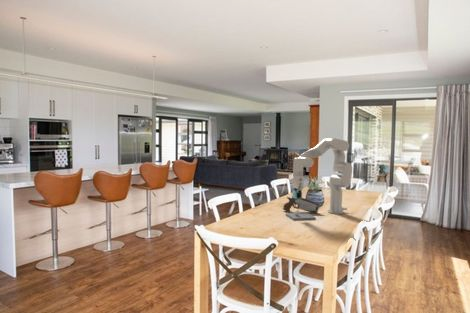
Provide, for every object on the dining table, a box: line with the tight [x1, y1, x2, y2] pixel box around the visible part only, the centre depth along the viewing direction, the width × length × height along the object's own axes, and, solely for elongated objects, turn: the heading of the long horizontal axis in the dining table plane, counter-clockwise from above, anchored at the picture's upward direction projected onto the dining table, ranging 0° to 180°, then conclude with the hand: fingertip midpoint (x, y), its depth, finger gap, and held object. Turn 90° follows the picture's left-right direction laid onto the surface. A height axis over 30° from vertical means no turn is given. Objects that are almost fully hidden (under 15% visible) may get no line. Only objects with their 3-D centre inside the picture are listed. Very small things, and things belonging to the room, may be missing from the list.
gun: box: [282, 196, 320, 214], centre depth 273 cm, size 5×27×15 cm, turn 78°
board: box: [285, 209, 317, 221], centre depth 255 cm, size 18×16×6 cm
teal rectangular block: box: [291, 190, 303, 199], centre depth 254 cm, size 6×6×5 cm
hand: (297, 196), depth 254 cm, fingers closed on teal rectangular block, 5 cm apart
